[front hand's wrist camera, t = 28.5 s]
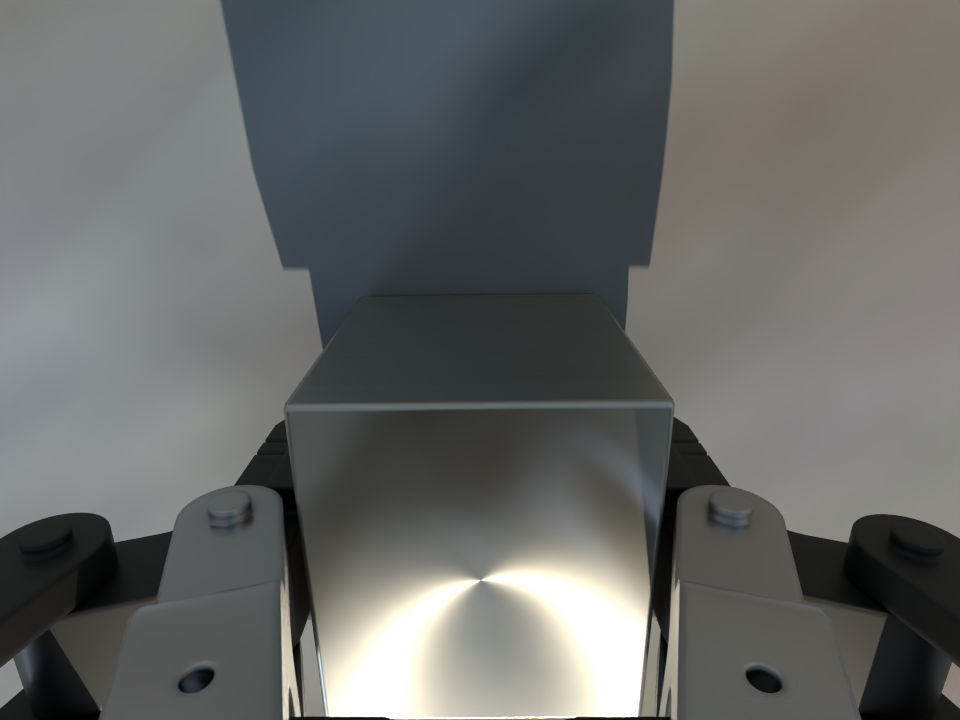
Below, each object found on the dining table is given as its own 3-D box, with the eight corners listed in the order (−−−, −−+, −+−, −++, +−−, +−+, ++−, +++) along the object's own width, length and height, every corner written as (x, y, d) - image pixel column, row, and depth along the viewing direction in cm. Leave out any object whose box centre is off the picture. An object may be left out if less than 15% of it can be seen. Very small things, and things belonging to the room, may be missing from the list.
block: (586, 515, 13) (642, 721, 9) (378, 517, 13) (323, 724, 9) (599, 292, 11) (678, 401, 7) (359, 295, 11) (279, 405, 7)
